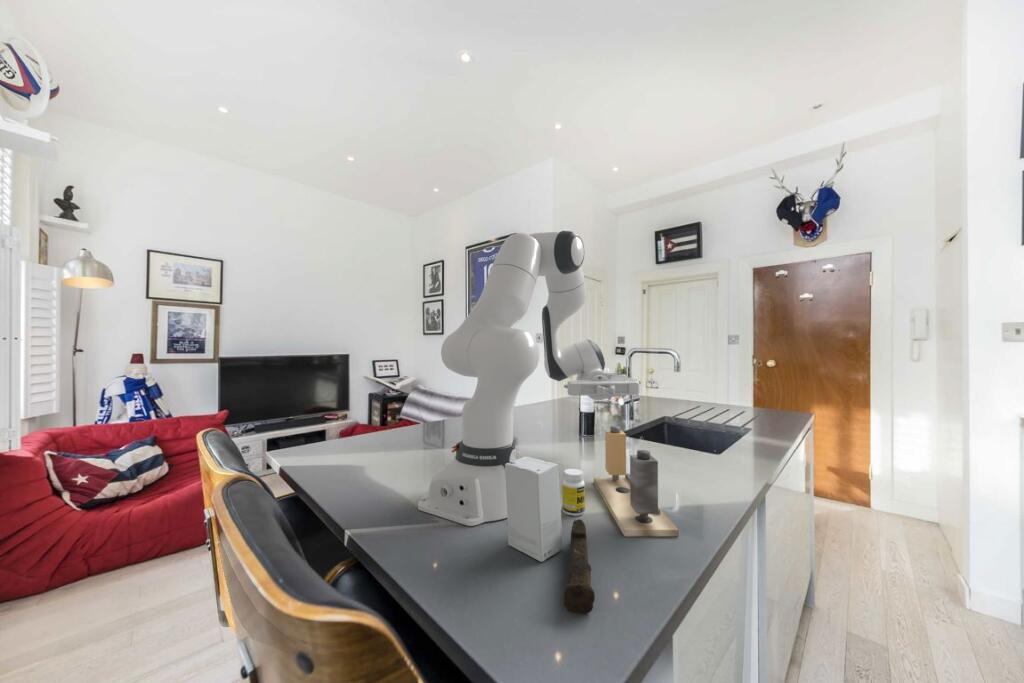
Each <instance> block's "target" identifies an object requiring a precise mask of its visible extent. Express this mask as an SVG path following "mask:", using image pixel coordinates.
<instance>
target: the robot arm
mask: <svg viewBox="0 0 1024 683" xmlns="http://www.w3.org/2000/svg"><path fill="white" fill-rule="evenodd" d="M584 260H585V245H584V242H583V240H582V238H581V237H580V236H579V234H577V233H576V232H575V231H571V230H561V231H547V232H543V231H542V232H541V231H540V232H534V233H530V234H527V233H523V232H515V233H514V234H513V233H512V234H511V235H509V236H508V237H506V239H505V240H504V242H503V243H502V245H501V247H500V248H499V250H498V253H497V254H496V255H495V257H494V260H493V263H492V265H491V267H490V271H489V274H488V275H487V279H486V281H485V283H484V285H483V286H484V287H483V288H482V292H481V293H480V296H479V299H478V300H477V302H476V303H475V304H474V307H473V308H472V309H471V311H470V312H469V314H468V315H467V316H466V318H465V319H464V320H463V322H462V323H461V324H460V325H459V326H458V327H457V329H455V331H453V332H452V333H451V334H449V335H448V336H446V338H445V339H444V341H443V342H442V345H441V352H440V355H441V360H442V362H443V364H444V366H445V367H446V368H447V369H448V370H450V371H451V372H454V373H456V374H458V375H459V376H463V377H470V378H471V377H472V378H477V383H476V387H475V390H474V393H473V395H472V397H471V398H470V399H468V400H467V401H466V402H465V403H464V405H463V407H462V417H461V419H462V421H461V422H462V439H461V441H459V442H457V443H456V444H455V445H454V446H452V447H451V449H452V450H451V453H455V455H454V456H455V457H454V458H453V459H451V460H450V461H449V462H447V464H445V465H444V466H443V467H441V468H440V469H439V470H438V471H436V473H434V475H433V476H432V478H431V480H430V483H429V487H428V491H427V492H426V493H425V494H423V495H422V497H421V498H419V500H418V502H417V510H419V511H421V512H425V513H427V514H430V515H431V514H432V515H433V516H436V517H440V518H443V519H446V520H449V521H451V522H455V523H458V524H461V525H464V526H468V527H473V526H478V525H480V524H484V523H486V522H488V523H489V522H494V521H499V520H505V519H506V518H507V499H506V477H505V464H506V463H509V462H511V461H514V460H517V457H516V456H517V454H516V452H517V451H516V441H515V440H514V414H515V413H514V411H515V410H514V409H515V406H516V405H515V404H516V400H517V397H518V393H519V391H520V389H521V388H522V385H523V384H524V382H525V381H526V380H527V379H528V378H529V377H530V376H531V375H532V374H533V373H534V372H535V370H536V369H537V367H538V364H539V361H540V347H539V344H538V342H537V340H536V338H535V336H533V334H532V333H531V332H528V331H526V330H522V329H518V328H514V327H513V326H514V324H515V323H517V322H519V321H520V320H522V319H523V318H524V316H525V315H526V314H527V312H528V309H529V306H530V303H531V298H532V296H533V294H534V290H535V286H536V284H537V279H538V277H539V276H541V277H544V278H545V283H546V287H547V291H548V292H547V293H548V296H547V297H548V299H547V301H546V304H545V306H544V307H543V308H542V309H541V310H542V312H541V324H542V326H541V328H542V337H543V338H542V340H543V352H544V356H543V357H544V361H543V362H544V363H543V364H544V369H545V370H544V371H545V373H546V374H547V376H548V378H550V379H552V380H554V381H557V382H561V381H564V380H566V379H568V378H571V377H573V376H576V377H575V378H576V379H575V380H572V379H571V380H568V381H567V384H564V385H563V388H565V389H567V395H568V396H573V397H575V396H581V397H582V396H587V397H589V399H591V400H594V401H602V400H605V399H610V398H614V397H615V398H616V397H617V398H618V397H626V396H638V395H640V393H641V384H640V381H638V380H636V379H634V378H632V377H628V375H627V374H626V373H625V374H624V373H614V372H613V373H612V372H607V371H605V367H606V361H605V357H604V355H603V352H602V349H601V348H600V347H599V345H598V344H597V343H595V342H594V341H592V340H590V339H584V340H581V341H578V342H575V343H573V344H570V345H568V346H567V345H566V346H565V347H561V348H559V347H558V330H559V328H560V327H561V325H562V324H563V323H564V322H565V321H566V320H568V319H569V318H570V317H571V316H573V315H574V314H575V313H577V312H578V311H579V310H580V309H581V308H582V307H583V306H584V304H585V302H586V300H587V296H588V291H587V290H588V289H587V282H586V279H585V273H584V271H583V267H582V265H583V262H584Z"/></svg>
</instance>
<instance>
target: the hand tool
mask: <svg viewBox="0 0 1024 683" xmlns="http://www.w3.org/2000/svg"><path fill="white" fill-rule="evenodd" d="M585 524H586V523H584V521H583V520H582V519H580V518H579V519H575V520H573V522H572V526H571V531H570V549H569V564H568V576H567V586H566V587H565V590H564V592H563V605H564V607H565V608H566V610H567V611H568V612H570V613H577V614H588V613H591V612H592V611H593V608H594V602H595V600H596V599H595V598H596V596H595V591H594V590H593V588H592V586H591V583H592V578H591V577H592V576H591V574H592V573H591V572H592V566H591V564H589V554H588V542H587V541H588V540H587V528H586V525H585Z"/></svg>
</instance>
